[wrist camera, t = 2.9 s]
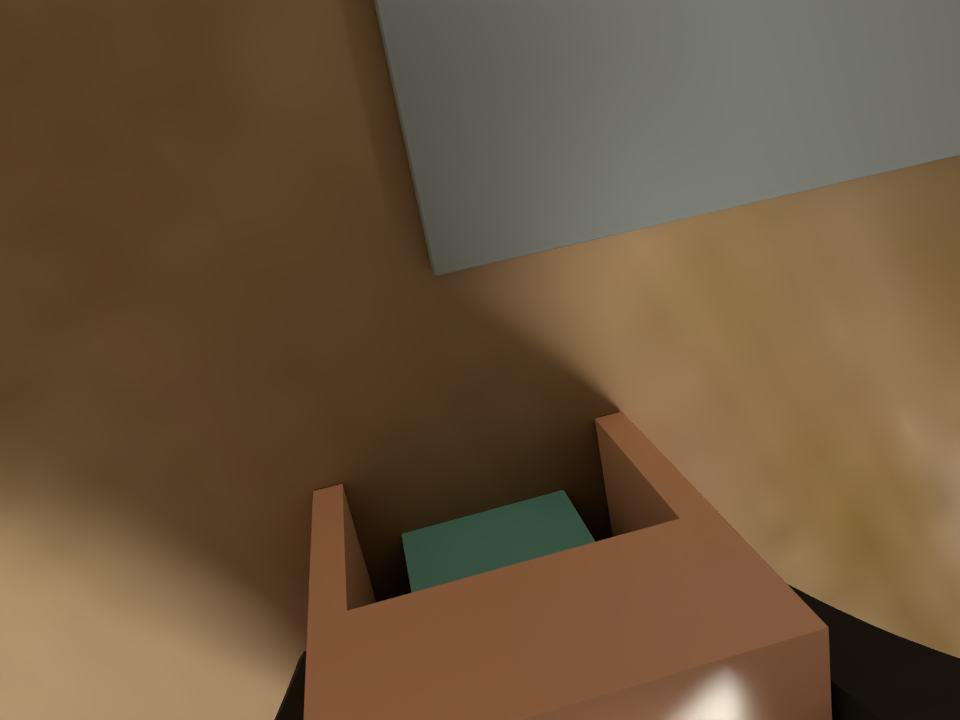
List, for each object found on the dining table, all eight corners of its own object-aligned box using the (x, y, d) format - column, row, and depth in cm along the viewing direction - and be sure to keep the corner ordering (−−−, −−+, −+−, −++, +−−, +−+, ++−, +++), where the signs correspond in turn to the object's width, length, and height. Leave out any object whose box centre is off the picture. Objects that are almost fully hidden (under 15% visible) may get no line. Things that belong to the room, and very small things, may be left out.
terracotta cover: (621, 411, 14) (828, 627, 8) (655, 657, 15) (841, 972, 10) (313, 491, 13) (301, 786, 7) (387, 737, 15) (423, 1122, 9)
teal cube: (562, 487, 14) (621, 584, 11) (585, 620, 15) (646, 739, 12) (400, 531, 14) (420, 642, 11) (436, 664, 15) (462, 796, 12)
